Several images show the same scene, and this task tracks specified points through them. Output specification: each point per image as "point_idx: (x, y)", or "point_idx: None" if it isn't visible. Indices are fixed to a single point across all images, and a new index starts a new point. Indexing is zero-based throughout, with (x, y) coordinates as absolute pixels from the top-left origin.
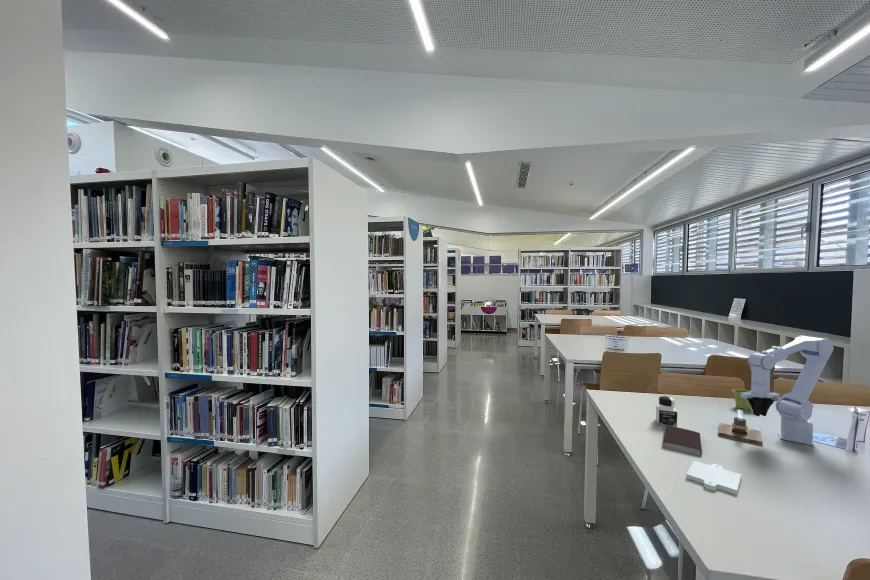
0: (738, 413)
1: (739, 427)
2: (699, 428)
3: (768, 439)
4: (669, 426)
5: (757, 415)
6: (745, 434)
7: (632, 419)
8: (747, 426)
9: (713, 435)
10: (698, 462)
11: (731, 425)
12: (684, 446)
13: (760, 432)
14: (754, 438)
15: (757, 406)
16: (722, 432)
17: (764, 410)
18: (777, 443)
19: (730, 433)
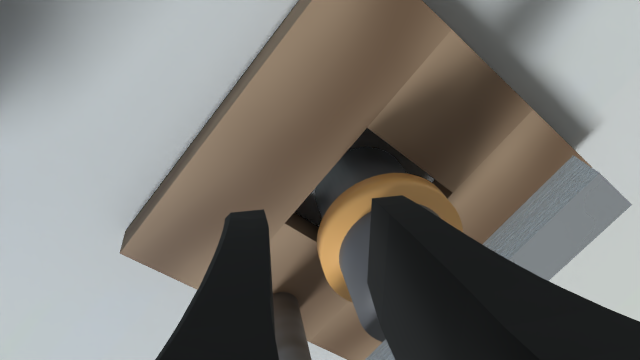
0: None
1: (441, 194)
2: (572, 280)
3: (132, 117)
4: None
5: (414, 204)
6: (342, 168)
7: None
8: (345, 215)
9: (599, 158)
10: None
11: (319, 336)
12: None
13: (154, 215)
14: (367, 42)
15: (623, 318)
16: (555, 169)
17: (271, 303)
18: (106, 12)
19: (504, 153)
